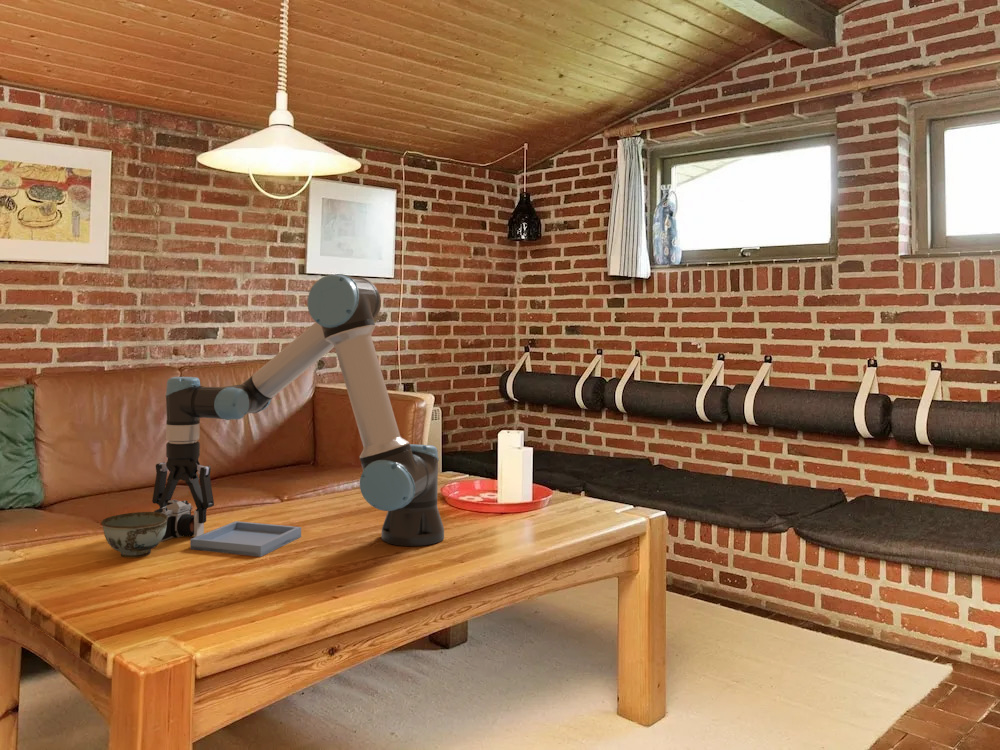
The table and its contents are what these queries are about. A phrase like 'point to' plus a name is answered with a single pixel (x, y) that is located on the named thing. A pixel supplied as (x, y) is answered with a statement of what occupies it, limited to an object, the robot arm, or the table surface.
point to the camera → (178, 519)
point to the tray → (246, 538)
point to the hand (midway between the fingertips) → (183, 534)
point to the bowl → (135, 532)
